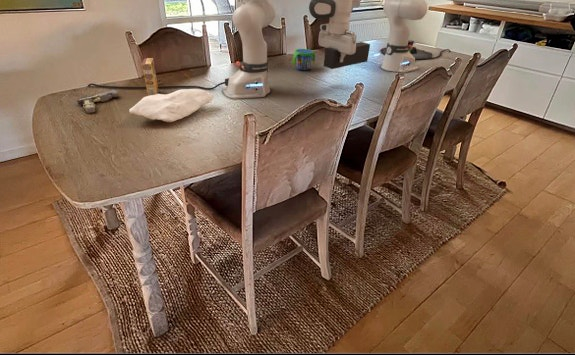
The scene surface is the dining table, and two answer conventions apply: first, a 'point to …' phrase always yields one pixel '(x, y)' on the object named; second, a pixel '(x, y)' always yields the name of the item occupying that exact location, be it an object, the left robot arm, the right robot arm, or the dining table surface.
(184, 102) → the crumpled cloth
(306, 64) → the snack cup
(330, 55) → the bar
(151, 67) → the candy box
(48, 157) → the dining table surface
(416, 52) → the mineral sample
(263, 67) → the left robot arm
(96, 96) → the handgun
